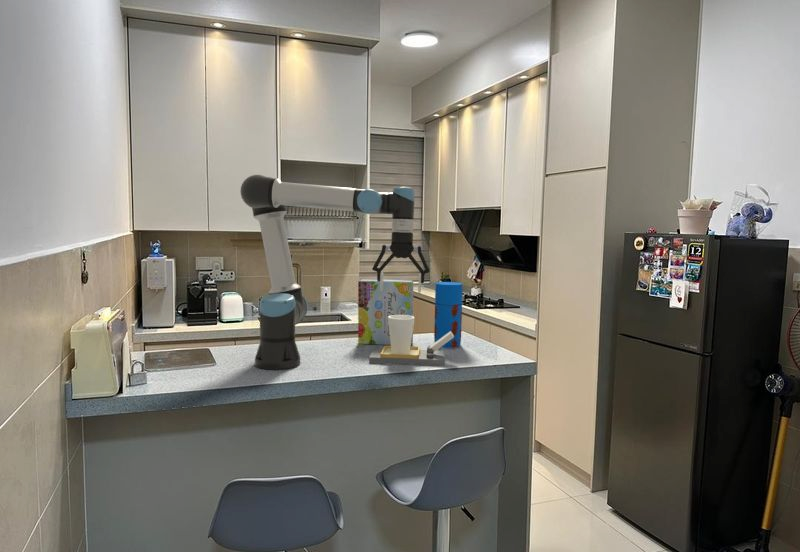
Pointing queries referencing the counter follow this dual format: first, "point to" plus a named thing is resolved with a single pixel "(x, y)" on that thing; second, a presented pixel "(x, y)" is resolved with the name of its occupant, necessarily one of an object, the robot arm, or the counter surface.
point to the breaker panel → (407, 356)
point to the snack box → (381, 308)
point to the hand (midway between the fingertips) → (400, 291)
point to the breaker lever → (440, 343)
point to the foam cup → (400, 333)
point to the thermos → (448, 312)
